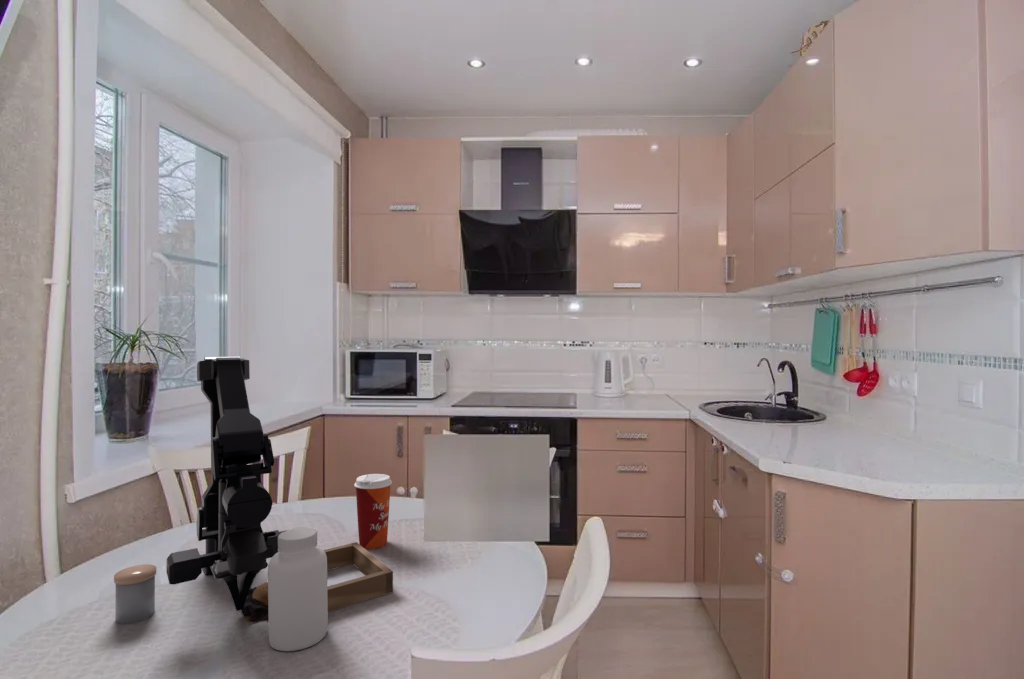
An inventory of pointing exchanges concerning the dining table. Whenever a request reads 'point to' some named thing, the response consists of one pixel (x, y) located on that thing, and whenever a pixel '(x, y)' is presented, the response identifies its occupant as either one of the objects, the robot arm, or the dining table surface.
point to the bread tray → (359, 588)
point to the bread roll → (256, 604)
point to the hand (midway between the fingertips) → (239, 609)
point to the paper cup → (373, 509)
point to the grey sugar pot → (135, 593)
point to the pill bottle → (297, 591)
